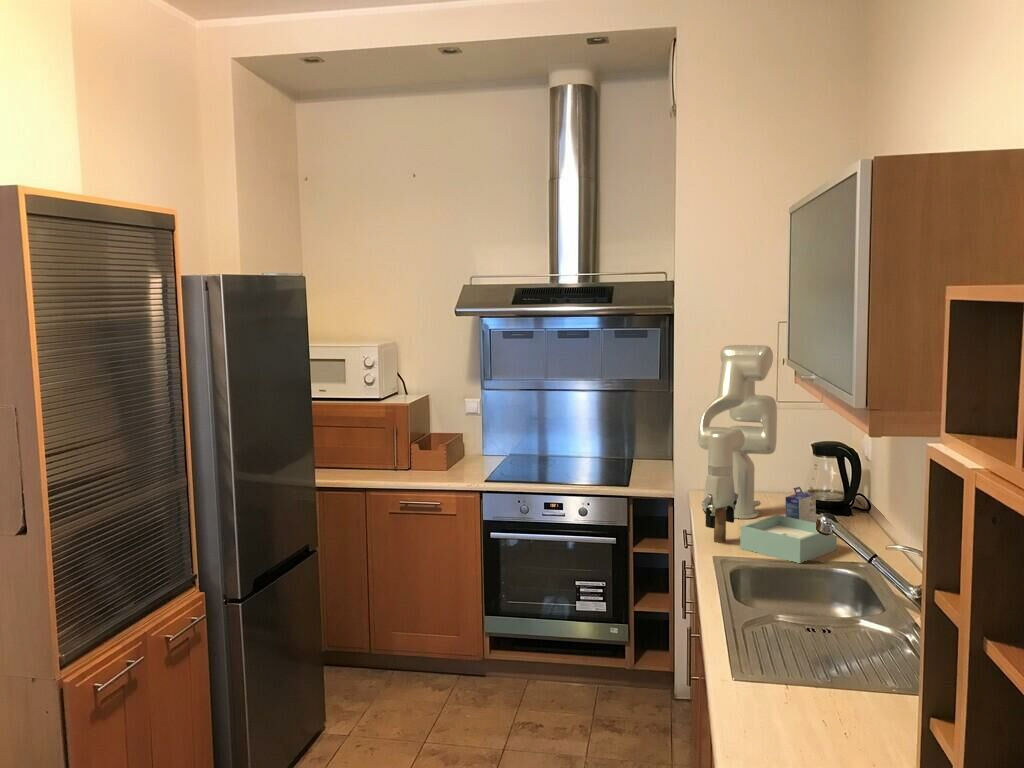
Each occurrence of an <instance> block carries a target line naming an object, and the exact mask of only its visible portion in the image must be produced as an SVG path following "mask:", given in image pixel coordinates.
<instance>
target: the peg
mask: <svg viewBox="0 0 1024 768" xmlns="http://www.w3.org/2000/svg"><path fill="white" fill-rule="evenodd" d="M714 516H715V528H713V542H714V543H717V542H718V543H717V544H724V543H726V541H727V540H726V539H727V538H726V537H727V533H726V532H727V522H726V507H723V508H719V509H716V511H715V513H714Z"/></svg>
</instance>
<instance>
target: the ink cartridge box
mask: <svg viewBox="0 0 1024 768" xmlns="http://www.w3.org/2000/svg"><path fill="white" fill-rule="evenodd" d="M793 490H794V494H791V495H787V496H785V516H786V517H791V518H795V519H800V520H805V521H810V522H814V523H817V521H816V520H817V517H816V514H817V508H816V504H817V503H816V501H817V500H816V499H817V498H816V497H817V495H816V494H815V493H810V492H805V491H803V490H802V488H801V486H797V487H793ZM798 490H799V491H798Z"/></svg>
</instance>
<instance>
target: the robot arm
mask: <svg viewBox="0 0 1024 768" xmlns="http://www.w3.org/2000/svg"><path fill="white" fill-rule="evenodd" d="M719 356H720V361H721V367H720V374H719V383H718V389H717V396H716V398H715V399H714V400H712V401H711V402H710V403H709V404H708V405H707V406H706V408H705V409H704V410H703V412H702V414H701V416H700V419H699V426H698V434H697V442H698V446H699V447H700V449H703V450H705V451H706V450H707V453H708V454H707V455H708V457H707V476H706V479H705V484H704V495H703V499H704V500H702V501H701V507H702V511H703V512H704V515H705V527H706V528H710V529H714V528H715V516H714V513H715V511H716V509H719V508H723V507H726V523H731V524H732V523H735V519H738V518H739V520H740V519H741V520H744V519H745V520H748V519H749V520H750V519H755V518H758V517H759V511H758V510H756V507H759V506H761V504H762V503H761V501H760V499H759V500H755V472H756V471H755V464H754V462H753V460H752V459H751V457H750V456H749V455H750V454H753V455H771V454H773V453H774V452H775V451H776V448H777V435H778V434H777V433H778V432H777V431H778V430H777V428H778V427H777V426H778V406H777V402H776V399H775V398H774V397H773V396H771V395H765V394H764V395H763V394H761V395H760V394H756V392H755V391H756V382H762V381H764V380H765V379H766V378H767V376H768V375H769V371H770V370H771V368H772V365H773V362H774V353H773V350H772V348H771V347H770V346H769V345H764V344H763V345H762V344H756V345H755V344H753V345H752V344H751V345H749V344H733V345H731V344H730V345H726V346H724V347H722V348H721V350H720V355H719ZM727 411H729V412H728V413H729V417H730V419H731V420H733V421H735V422H741V423H742V422H743V423H759V424H761V425H762V426H753V425H731V426H729V427H723V426H710V424H711V422H712V421H713V419H714V418H715V417H717V416H718V415H720V414H722V413H724V412H727Z"/></svg>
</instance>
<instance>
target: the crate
mask: <svg viewBox="0 0 1024 768" xmlns="http://www.w3.org/2000/svg"><path fill="white" fill-rule="evenodd" d="M816 523H817V522H816ZM816 523H814V522H810V521H805V520H800V519H795V518H791V517H786V515H780V514H776V515H774V516H773V515H772V516H769V517H766V518H763V519H759V520H757V521H752V522H751V523H747V524H743V525H740V538H739V539H740V543H739V547H740V548H739V549H740V550H743V549H744V551H747V550H748V552H751V551H753V552H752V553H755V552H757V553H756V554H759V553H761V554H760V555H763V554H765V555H764V556H767V555H769V556H768V557H771V556H773V557H772V558H775V557H776V559H778V558H780V559H779V560H782V559H785V560H784V561H786V560H789V561H788V562H790V561H794V562H797V563H796V564H798V563H801V562H804V561H806V562H808V561H807V560H809V561H811V560H814V559H817V558H819V557H821V555H822V556H824V555H827V554H829V553H828V552H830V553H832V552H834V550H835V551H836V550H837V542H838V541H837V536H838V535H837V536H835V535H833V534H831V535H828V536H825V535H822V534H820V533H819V532H817V530H816ZM831 551H832V552H831ZM826 553H827V554H826ZM823 554H824V555H823ZM818 556H819V557H818ZM816 557H817V558H816ZM813 558H814V559H813ZM794 562H793V563H794ZM804 563H805V562H804ZM801 564H802V563H801Z"/></svg>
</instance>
